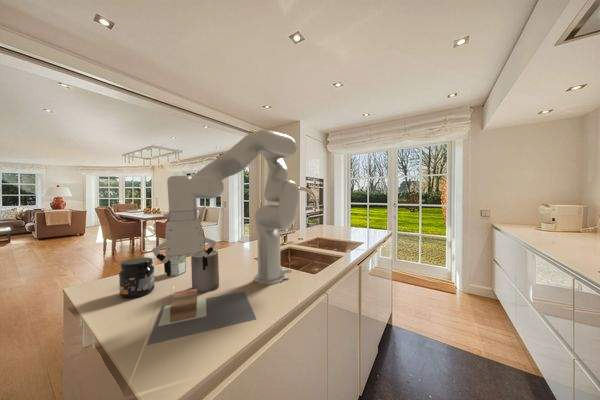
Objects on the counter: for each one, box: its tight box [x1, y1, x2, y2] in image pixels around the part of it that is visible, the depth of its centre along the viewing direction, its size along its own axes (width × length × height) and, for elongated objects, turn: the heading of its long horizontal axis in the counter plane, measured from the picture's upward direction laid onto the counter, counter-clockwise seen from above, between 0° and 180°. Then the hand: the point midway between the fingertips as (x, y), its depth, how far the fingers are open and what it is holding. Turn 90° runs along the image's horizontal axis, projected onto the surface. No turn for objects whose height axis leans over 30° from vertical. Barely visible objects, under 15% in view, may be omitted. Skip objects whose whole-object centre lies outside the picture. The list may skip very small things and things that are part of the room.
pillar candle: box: [190, 249, 220, 294], centre depth 85 cm, size 10×10×15 cm
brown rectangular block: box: [170, 289, 198, 322], centre depth 67 cm, size 11×6×4 cm, turn 24°
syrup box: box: [165, 255, 187, 277], centre depth 101 cm, size 6×6×14 cm
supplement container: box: [118, 256, 156, 299], centre depth 81 cm, size 10×10×12 cm
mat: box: [146, 291, 257, 346], centre depth 66 cm, size 26×20×1 cm
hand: (187, 271), depth 68 cm, fingers open, 9 cm apart
